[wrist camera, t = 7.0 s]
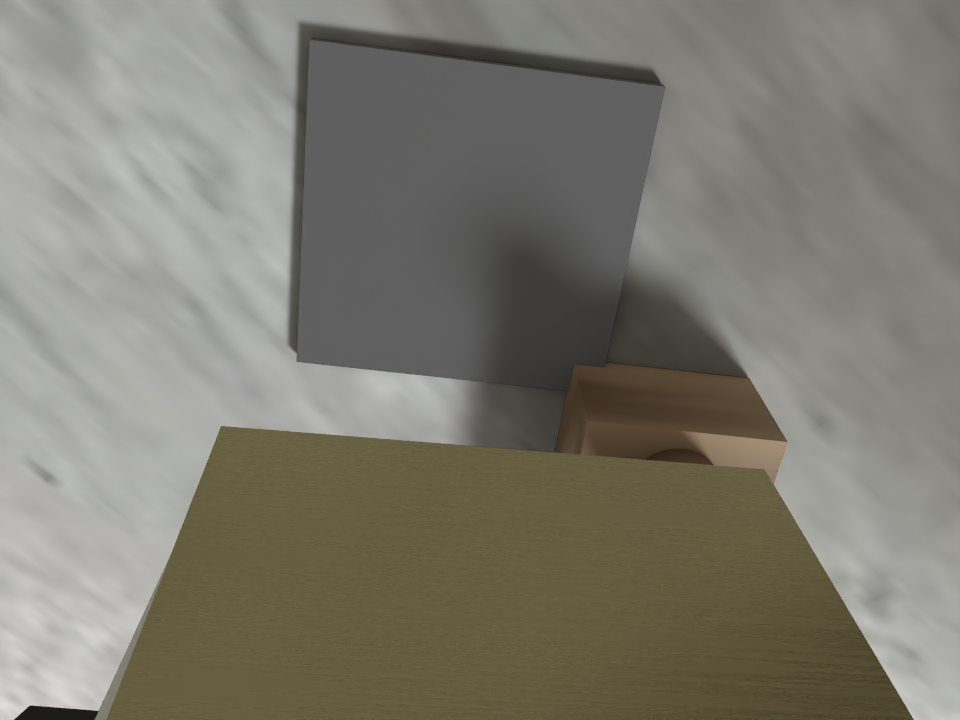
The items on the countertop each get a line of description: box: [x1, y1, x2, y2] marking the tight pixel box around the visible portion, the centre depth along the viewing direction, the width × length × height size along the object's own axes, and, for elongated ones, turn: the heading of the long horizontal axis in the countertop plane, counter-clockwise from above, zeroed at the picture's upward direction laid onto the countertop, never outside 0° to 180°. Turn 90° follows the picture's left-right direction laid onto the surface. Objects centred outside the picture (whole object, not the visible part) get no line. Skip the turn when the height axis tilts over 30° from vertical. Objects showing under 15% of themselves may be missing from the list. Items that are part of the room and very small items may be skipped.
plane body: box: [555, 363, 787, 484], centre depth 30 cm, size 18×6×8 cm, turn 173°
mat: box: [297, 38, 665, 391], centre depth 27 cm, size 10×10×1 cm
